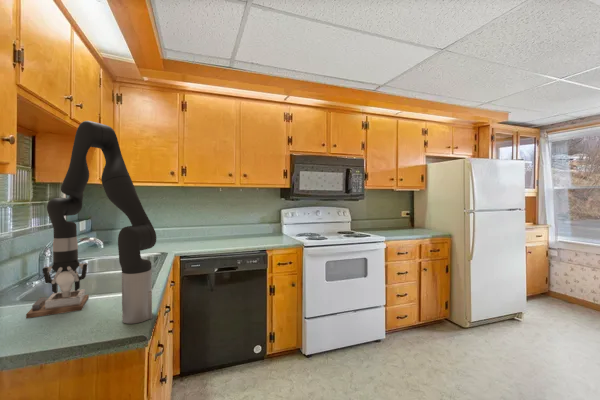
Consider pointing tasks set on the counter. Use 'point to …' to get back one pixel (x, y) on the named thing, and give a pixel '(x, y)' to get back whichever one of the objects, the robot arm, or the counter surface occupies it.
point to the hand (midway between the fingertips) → (66, 291)
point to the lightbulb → (65, 283)
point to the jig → (58, 304)
